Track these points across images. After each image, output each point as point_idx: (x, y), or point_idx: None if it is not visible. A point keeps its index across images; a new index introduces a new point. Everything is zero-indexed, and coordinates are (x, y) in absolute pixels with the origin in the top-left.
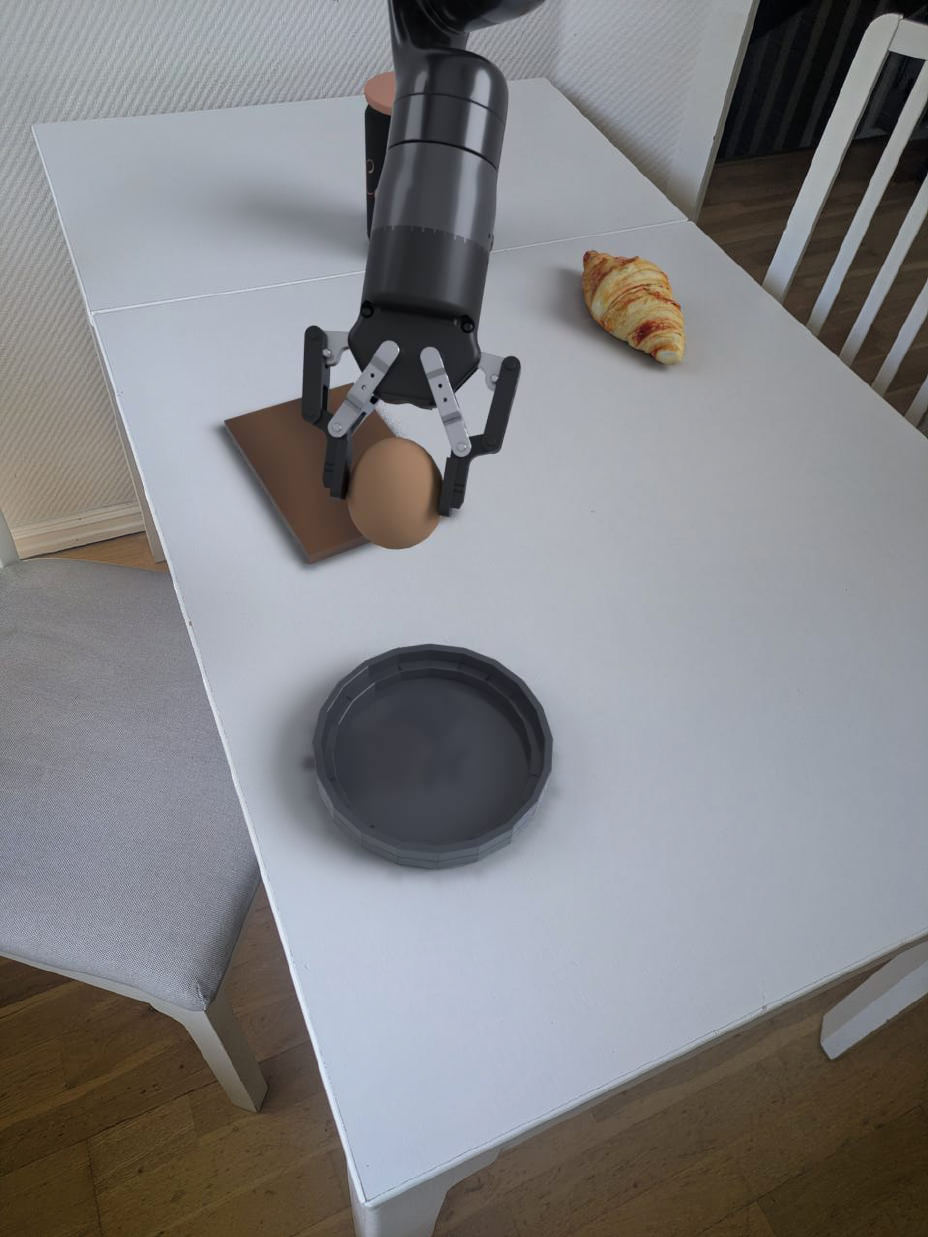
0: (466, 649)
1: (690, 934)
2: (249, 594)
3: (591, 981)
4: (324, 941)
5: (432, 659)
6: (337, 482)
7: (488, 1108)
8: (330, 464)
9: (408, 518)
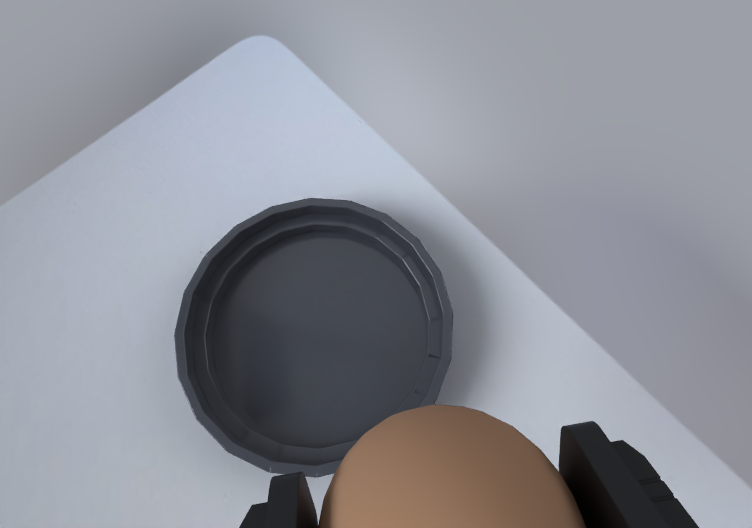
0: (312, 475)
1: (47, 248)
2: None
3: (133, 184)
4: (354, 142)
5: None
6: (596, 449)
7: (199, 86)
8: (655, 499)
9: (373, 432)
